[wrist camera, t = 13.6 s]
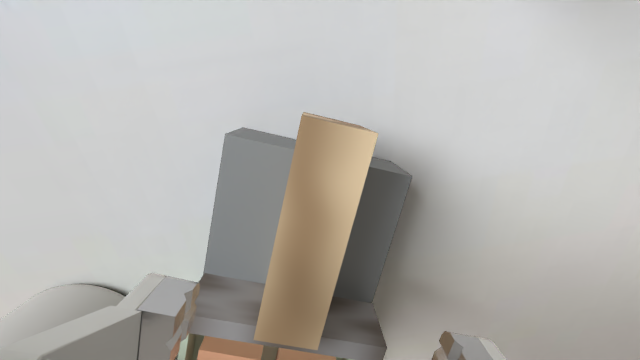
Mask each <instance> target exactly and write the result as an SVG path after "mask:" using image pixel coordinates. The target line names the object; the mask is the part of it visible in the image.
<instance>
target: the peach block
mask: <svg viewBox="0 0 640 360" xmlns="http://www.w3.org/2000/svg"><path fill="white" fill-rule="evenodd" d="M275 360H336V357H334V356H328V355H321V354H315V353H309V352H303V351H297V350H290V349H284V348H278V351H277V355H276V359H275Z"/></svg>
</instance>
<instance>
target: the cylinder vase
mask: <svg viewBox="0 0 640 360" xmlns="http://www.w3.org/2000/svg"><path fill="white" fill-rule="evenodd" d="M124 298H125V296H123V295H121V294H119V293H117V292H115V291H112V290H110V289H107V288H103V287H99V286H94V285H87V284H70V285H62V286H57V287H53V288H50V289H47V290H45V291H43V292H40V293H38V294H37V295H35V296H33V297H32V298H30V299H29V300H27V301H26V302H24V303H23V304H22V305H20V306H19V307H17V308H16V309H14V310H13V311H12V312H10V313H9V314H7V315H6V316H5V317H3V318H2V319H0V348H2V347H4V346H7V345H10V344H12V343H15V342H17V341H20V340H23V339H25V338H28V337H30V336H33V335H36V334H38V333H41V332H43V331H46V330H49V329H51V328H54V327H56V326H59V325H62V324H64V323H67V322H69V321H72V320H75V319H77V318H80V317H82V316H85V315H87V314H90V313H93V312H95V311H98V310H100V309H103V308H106V307H108V306H117V305H118V304H119V303H120V302H121V301H122V300H123V299H124Z"/></svg>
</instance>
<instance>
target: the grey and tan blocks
mask: <svg viewBox="0 0 640 360" xmlns="http://www.w3.org/2000/svg"><path fill="white" fill-rule="evenodd" d="M377 137H378V133H376V132H373V131H371V130H369V129H366V128H364V127H362V126H360V125H355V124H351V123H347V122H343V121H339V120H335V119H330V118H326V117H322V116H318V115H314V114H309V113H305V112H303V114H302V117H301V121H300V126H299V131H298V135H297V140H296V145H295V149H294V154H293V158H292V163H291V168H290V172H289V177H288V182H287V186H286V191H285V196H284V200H283V205H282V210H281V214H280V219H279V223H278V228H277V233H276V237H275V242H274V247H273V251H272V256H271V261H270V265H269V270H268V275H267V279H266V284H263V283H257V282H251V281H246V280H240V279H235V278H229V277H224V276H218V275H213V274H207V273H204V275H203V277H202V278H201V280H200V282H199V284H200V289H199V295H198V297H197V298H196V300H195V304H196V306H197V309H196V315H195V318H194V322H193V324H192V327H191V330H190V332H189V333H191V334H197V335H203V336H209V337H216V338H222V339H228V340H234V341H241V342H247V343H253V344H259V345H265V346H272V347H278V348H284V349H290V350H297V351H303V352H309V353H315V354H321V355H328V356H334V357H340V358H346V359H352V360H383V358H384V355H385V352H386V349H387V346H386V343H385V340H384V337H383V334H382V331H381V328H380V325H379V322H378V318H377V315H376V312H375V309H374V306H373V303H368V302H362V301H357V300H351V299H345V298H340V297H334V296H333V293H334V290H335V286H336V282H337V279H338V275H339V272H340V268H341V265H342V261H343V258H344V254H345V251H346V247H347V243H348V240H349V236H350V233H351V229H352V226H353V222H354V219H355V215H356V211H357V208H358V204H359V201H360V197H361V194H362V190H363V187H364V183H365V179H366V176H367V172H368V169H369V165H370V162H371V158H372V155H373V151H374V147H375V144H376V140H377Z"/></svg>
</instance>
